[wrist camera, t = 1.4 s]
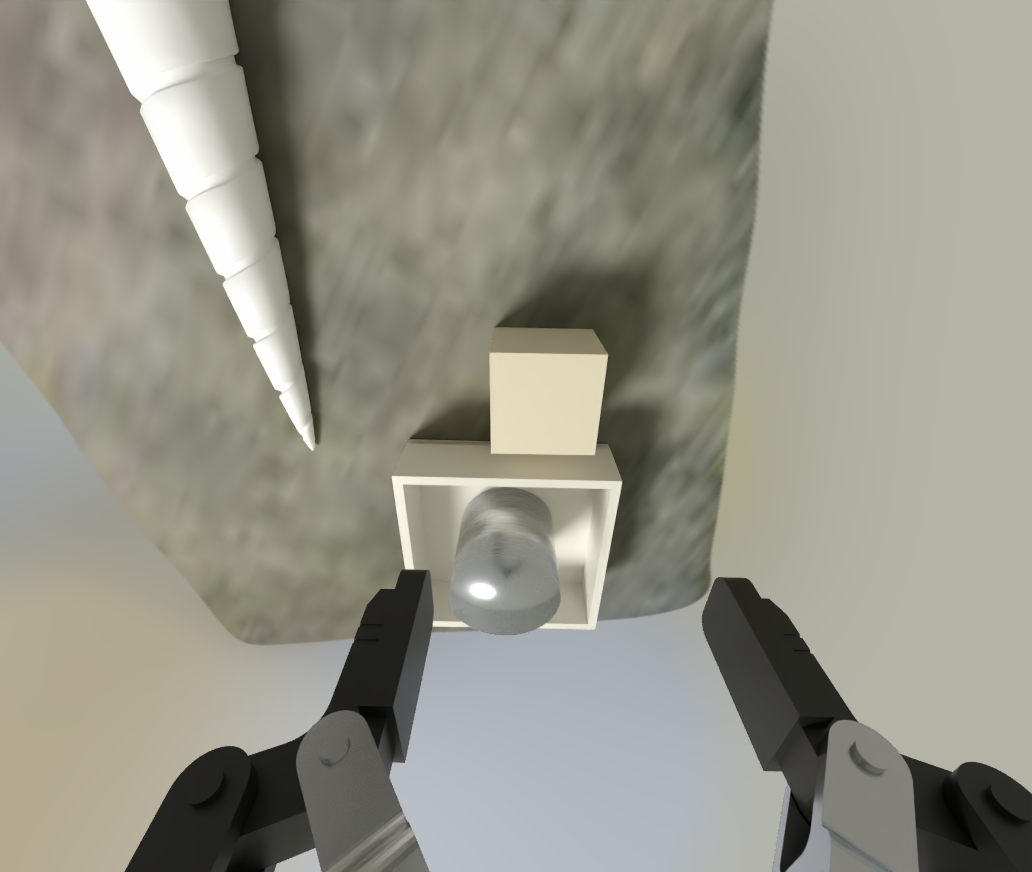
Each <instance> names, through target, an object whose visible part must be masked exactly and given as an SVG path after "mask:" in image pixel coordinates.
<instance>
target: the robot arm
mask: <svg viewBox="0 0 1032 872" xmlns="http://www.w3.org/2000/svg"><path fill="white" fill-rule="evenodd" d="M433 616H434V604H433V594H432V585H431V575H430V571H429V570H416V569H403V570H402V571H401V572H400V575H399V578H398V581H397V584H396V587H395V589H380V591H379V592H378V593H377V594H376V595H375V596H374V598H373V599H372V600H371V601H370V602H369V603H368V604H367V607H366V609H365V612H364V615H363V617H362V620H361V622H360V627H359V628H358V630H357V633H356V636H355V638H354V643H353V644H352V647H351V649H350V652H349V655H348V657H347V660H346V662H345V665H344V668H343V670H342V673H341V676H340V678H339V681H338V683H337V686H336V689H335V691H334V694H333V697H332V699H331V702H330V704H329V706H328V708H327V710H326V712H325V713H324V715H323V716H322V718H321V719H320V720H319V721H318V722H317V723H316V724H315V725H313V726H312V728H311V729H310V730H309V731H308V732H306V733H305V734H304V735H302V736H300V737H299V738H297V739H295V740H293V741H290V742H288V743H286V744H283V745H279V746H276V747H274V748H270V749H267V750H264V751H261V752H258V753H255V754H252V755H249V756H248V755H247V754H246V752H244V750H242V749H240V748H238V747H234V746H225V747H220V748H217V749H214V750H212V751H209V752H207V753H206V754H204V755H202V756H200V757H199V758H198V759H196V760H195V761H194V762H192V763H191V764H190V765H189V766H188V767H187V768H186V769H185V770H184V771H183V772H182V773H181V774H180V775H179V777H178V778H177V779H176V781H175V782H174V783H173V785H172V786H171V788H170V790H169V791H168V793H167V795H166V797H165V799H164V800H163V802H162V804H161V806H160V808H159V810H158V812H157V813H156V815H155V817H154V819H153V821H152V822H151V824H150V826H149V828H148V830H147V832H146V833H145V835H144V837H143V839H142V841H141V842H140V844H139V846H138V848H137V850H136V852H135V854H134V855H133V857H132V859H131V861H130V863H129V865H128V867H127V868H126V870H125V872H274V870H275V867H276V864H277V863H279V862H282V861H284V860H287V859H289V858H292V857H294V856H296V855H299V854H301V853H303V852H306V851H309V850H311V849H313V848H316V851H317V855H318V859H319V863H320V867H321V871H322V872H429V869H428V867H427V864H426V862H425V859H424V857H423V854H422V852H421V850H420V847H419V845H418V842H417V840H416V837H415V835H414V833H413V831H412V829H411V826H410V825H409V822H408V821H407V820H406V818H405V815H404V813H403V811H402V808H401V806H400V803H399V801H398V798H397V796H396V794H395V791H394V788H393V786H392V783H391V781H390V778H389V775H390V770H391V766H392V762H400V763H401V762H402V763H405V760H406V755H407V749H408V745H409V740H410V735H411V730H412V725H413V720H414V715H415V710H416V705H417V700H418V695H419V691H420V686H421V681H422V676H423V671H424V666H425V661H426V656H427V651H428V646H429V641H430V636H431V631H432V626H433ZM702 625H703V631H704V634H705V637H706V639H707V642H708V644H709V646H710V648H711V651H712V653H713V655H714V658H715V660H716V662H717V665H718V666H719V669H720V672H721V674H722V676H723V678H724V680H725V683H726V685H727V688H728V690H729V692H730V695H731V697H732V699H733V701H734V704H735V706H736V708H737V711H738V713H739V715H740V718H741V720H742V722H743V724H744V727H745V729H746V731H747V734H748V736H749V738H750V741H751V743H752V745H753V747H754V749H755V752H756V754H757V757H758V759H759V761H760V764H761V766H762V768H763V770H764V771H782V772H783V774H784V776H785V778H786V780H787V783H788V785H787V787H786V789H785V793H784V799H783V805H782V812H781V818H780V824H779V831H778V837H777V844H776V850H775V856H774V862H773V869H772V872H1032V794H1031V793H1030V792H1029V791H1028V790H1026V789H1025V788H1024V787H1023V786H1022V785H1020V784H1019V783H1018V782H1016V781H1015V780H1013V779H1012V778H1011V777H1009V776H1007V775H1006V774H1004V773H1002V772H1001V771H999V770H997V769H995V768H993V767H990V766H988V765H985V764H982V763H977V762H966V763H963V764H962V765H960V766H959V767H958V768H957V769H956V770H955V771H954V772H950V771H948V770H944V769H942V768H939V767H936V766H933V765H930V764H927V763H924V762H921V761H918V760H916V759H912V758H910V757H907V756H904V755H902V754H900V753H899V752H898V751H897V749H896V748H895V747H894V746H893V745H892V744H891V743H890V742H889V741H888V740H886V739H885V738H884V737H883V736H882V735H880V734H879V733H878V732H876V731H874V730H873V729H871V728H870V727H868V726H866V725H864V724H861V723H859V722H858V721H857V720H856V719H855V717H854V716H853V715H852V713H851V711H850V710H849V708H848V707H847V706H846V704H845V702H844V701H843V699H842V698H841V696H840V695H839V693H838V692H837V690H836V689H835V687H834V686H833V684H832V683H831V681H830V679H829V678H828V676H827V675H826V673H825V672H824V670H823V669H822V668H821V666H820V664H819V663H818V661H817V660H816V658H815V657H814V655H813V654H811V653H810V649H809V648H808V646H807V645H806V643H805V641H804V640H803V639H802V638H800V634H799V633H798V631H797V629H796V628H795V626H794V625H793V623H792V622H791V620H790V619H789V617H788V616H787V615H786V614H785V613H784V612H783V611H782V610H781V609H780V608H779V607H778V606H776V605H775V604H774V603H773V602H772V601H771V600H770V599H761V597H760V595H759V594H758V592H757V591H756V589H755V587H754V586H753V584H752V583H751V582H750V580H748V579H746V578H724V577H718V578H716V580H715V581H714V584H713V586H712V589H711V592H710V594H709V597H708V600H707V602H706V605H705V608H704V611H703V615H702Z"/></svg>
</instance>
